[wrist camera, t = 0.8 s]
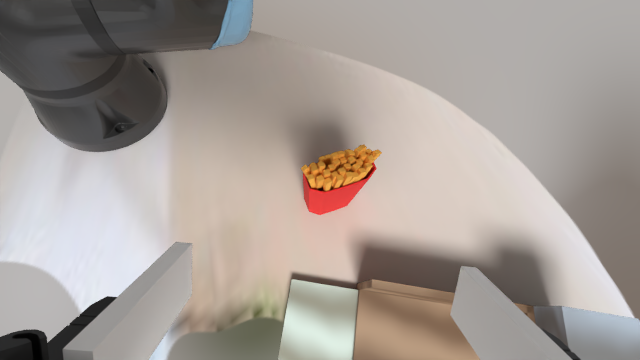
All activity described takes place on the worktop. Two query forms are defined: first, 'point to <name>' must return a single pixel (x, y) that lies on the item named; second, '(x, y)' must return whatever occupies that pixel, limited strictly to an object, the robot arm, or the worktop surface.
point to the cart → (425, 325)
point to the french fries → (337, 178)
